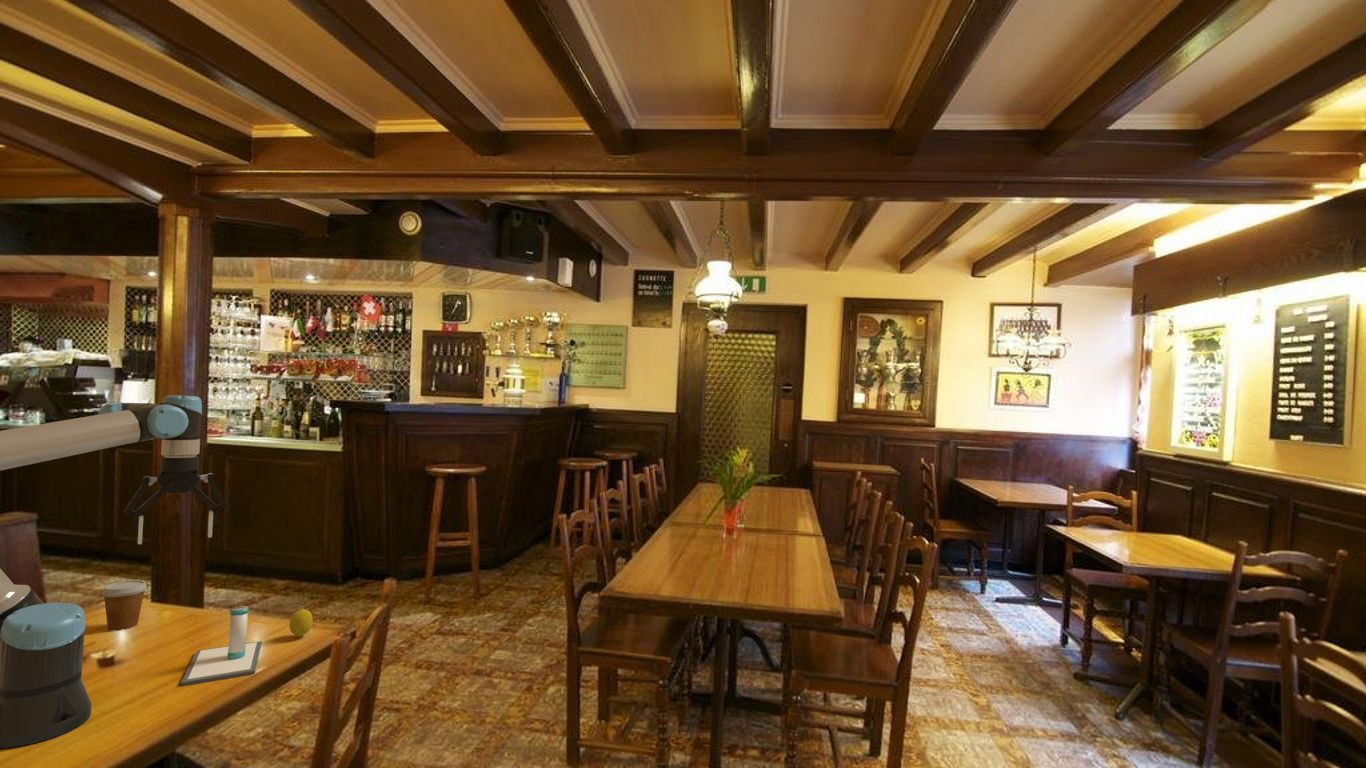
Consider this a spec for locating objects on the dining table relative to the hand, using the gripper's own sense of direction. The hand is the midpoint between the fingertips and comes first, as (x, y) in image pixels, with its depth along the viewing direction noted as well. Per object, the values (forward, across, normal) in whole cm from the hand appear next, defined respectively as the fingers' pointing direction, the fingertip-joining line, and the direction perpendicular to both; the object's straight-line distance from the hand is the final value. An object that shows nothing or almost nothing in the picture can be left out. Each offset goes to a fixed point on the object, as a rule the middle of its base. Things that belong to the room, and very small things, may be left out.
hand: (175, 539), depth 153 cm
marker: (+30, -13, +9) cm, 33 cm away
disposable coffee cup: (+31, +10, -36) cm, 49 cm away
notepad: (+31, -11, +9) cm, 34 cm away
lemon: (+31, -28, +1) cm, 42 cm away
